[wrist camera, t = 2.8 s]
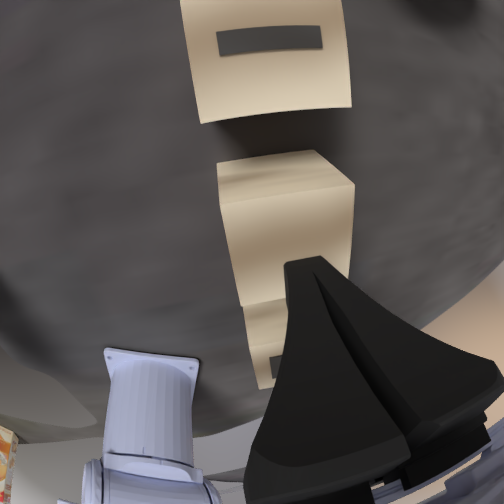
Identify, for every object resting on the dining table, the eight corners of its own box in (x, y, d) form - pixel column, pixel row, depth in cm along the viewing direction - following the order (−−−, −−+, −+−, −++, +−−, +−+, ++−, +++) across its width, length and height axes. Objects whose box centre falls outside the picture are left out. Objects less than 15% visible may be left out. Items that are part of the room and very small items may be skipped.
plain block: (315, 230, 17) (347, 284, 13) (232, 244, 17) (240, 306, 13) (313, 149, 14) (354, 184, 10) (216, 162, 14) (219, 205, 10)
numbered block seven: (314, 320, 22) (334, 374, 18) (249, 333, 22) (259, 390, 18) (316, 270, 19) (342, 328, 15) (239, 285, 19) (249, 348, 15)
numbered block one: (309, 94, 13) (355, 107, 8) (204, 107, 12) (200, 124, 8) (297, 3, 10) (340, -26, 6) (188, 13, 9) (176, -19, 5)
